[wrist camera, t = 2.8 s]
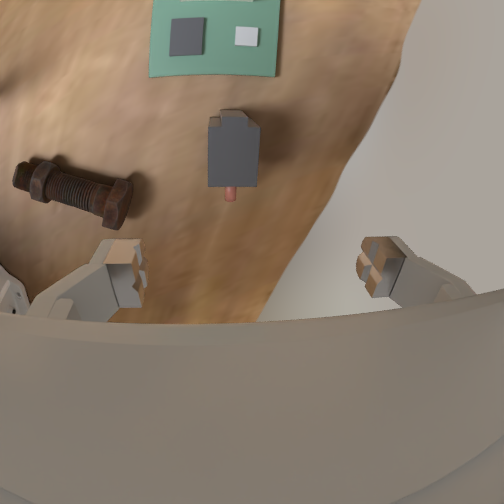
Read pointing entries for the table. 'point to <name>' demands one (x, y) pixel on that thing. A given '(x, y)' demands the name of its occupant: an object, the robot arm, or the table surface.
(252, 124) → the plug
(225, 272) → the table surface
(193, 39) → the board
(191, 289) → the table surface
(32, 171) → the bolt
